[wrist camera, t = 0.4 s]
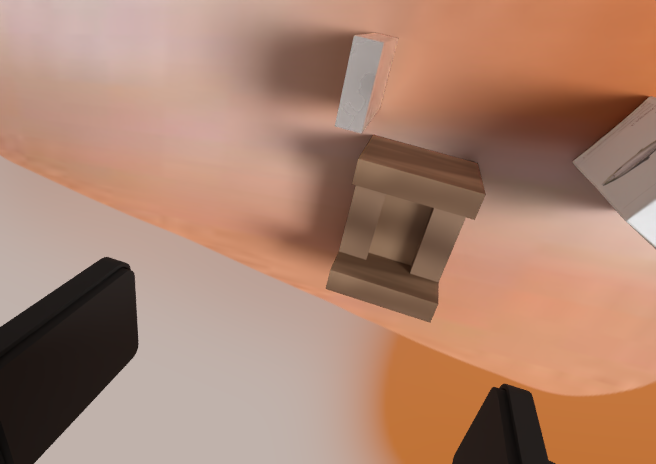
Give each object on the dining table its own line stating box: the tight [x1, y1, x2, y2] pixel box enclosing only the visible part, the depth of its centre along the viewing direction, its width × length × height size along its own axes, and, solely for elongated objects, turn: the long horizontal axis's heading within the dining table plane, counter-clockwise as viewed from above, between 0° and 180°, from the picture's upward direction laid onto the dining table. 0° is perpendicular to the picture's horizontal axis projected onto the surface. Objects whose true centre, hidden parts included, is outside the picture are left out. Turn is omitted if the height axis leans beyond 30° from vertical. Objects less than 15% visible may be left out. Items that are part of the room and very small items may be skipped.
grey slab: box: [335, 33, 399, 134], centre depth 32 cm, size 6×2×10 cm, turn 169°
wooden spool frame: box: [326, 135, 486, 322], centre depth 38 cm, size 13×10×8 cm
